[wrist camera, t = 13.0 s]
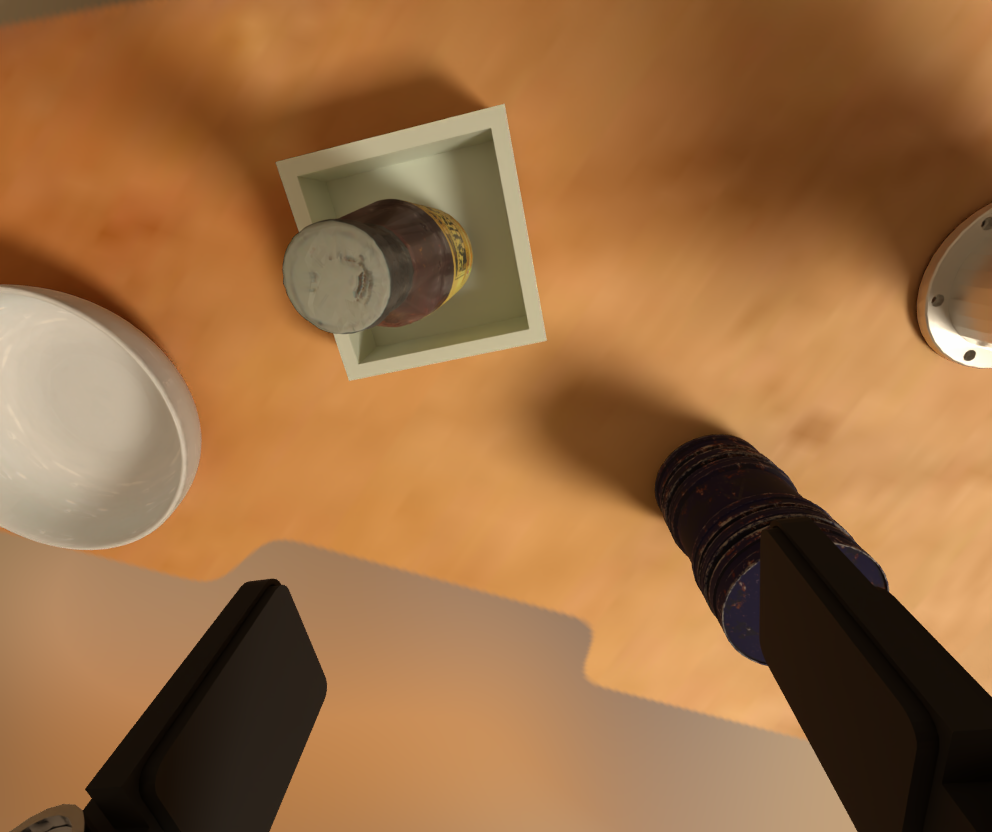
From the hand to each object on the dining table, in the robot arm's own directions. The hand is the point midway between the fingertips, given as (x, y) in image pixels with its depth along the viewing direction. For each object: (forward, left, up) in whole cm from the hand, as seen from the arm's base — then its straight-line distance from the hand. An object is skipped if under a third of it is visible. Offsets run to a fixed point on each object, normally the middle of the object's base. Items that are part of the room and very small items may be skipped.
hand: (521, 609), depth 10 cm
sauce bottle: (+5, -6, -30) cm, 31 cm away
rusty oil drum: (-14, +18, -31) cm, 39 cm away
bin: (+5, -6, -31) cm, 32 cm away
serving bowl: (+35, 0, -31) cm, 47 cm away
